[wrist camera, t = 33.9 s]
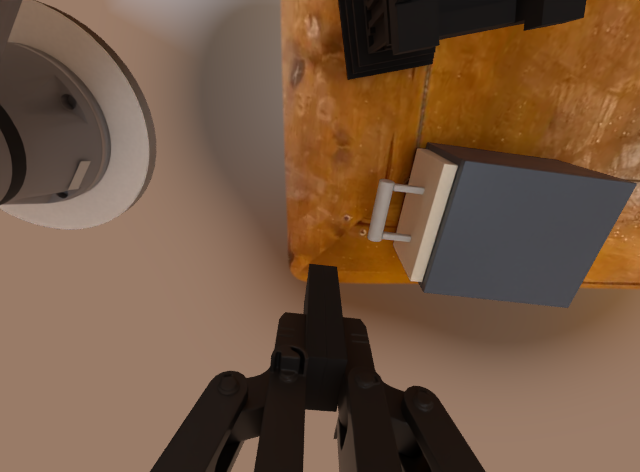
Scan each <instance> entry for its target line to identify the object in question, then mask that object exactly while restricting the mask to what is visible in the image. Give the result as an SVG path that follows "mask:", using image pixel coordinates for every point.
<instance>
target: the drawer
mask: <svg viewBox="0 0 640 472" xmlns="http://www.w3.org/2000/svg"><path fill="white" fill-rule="evenodd" d="M458 169H459V168H458V165H456V164H454V163H452V162H450V161H449V160H447V159H445V158H443V157H441V156H439V155H438V154H436V153H434V152H432V151H430V150H428V149H421V148H417V152H416V156H415V160H414V164H413V168H412V171H411V175H410V179H409V183H408V185H403V184H395V183H394V181H392V180H388V179H380V180H379V185H378V190H377V194H376V199H375V204H374V208H373V213H372V218H371V223H370V227H369V232H368V237H367V238H368V239H369V240H371V241H375V242H379V241H381V239H387V240H394V243H393V246H394V248H395V250H396V253H397V255H398V257H399V259H400V261H401V263H402V265H403V267H404V269H405V271H406V273H407V275H408V277H409V279H410V281H416V282H422V281H423V277H424V274H425V271H426V268H427V265H428V263H429V262H430V259H431V256H432V252H433V249H434V246H435V243H436V240H435V239H436V236H437V232H438V229H439V226H440V223H441V219H442V216H443V213H444V210H445V207H446V203H447V200H448V197H449V194H450V191H451V187H452V186H453V185H454V182H455V179H456V176H457V172H458ZM392 191H399V192H406V195H405V199H404V203H403V207H402V211H401V215H400V219H399V223H398V227H397V231H396V233H391V232H383V230H384V226H385V222H386V217H387V213H388V209H389V204H390V200H391V196H392Z"/></svg>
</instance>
